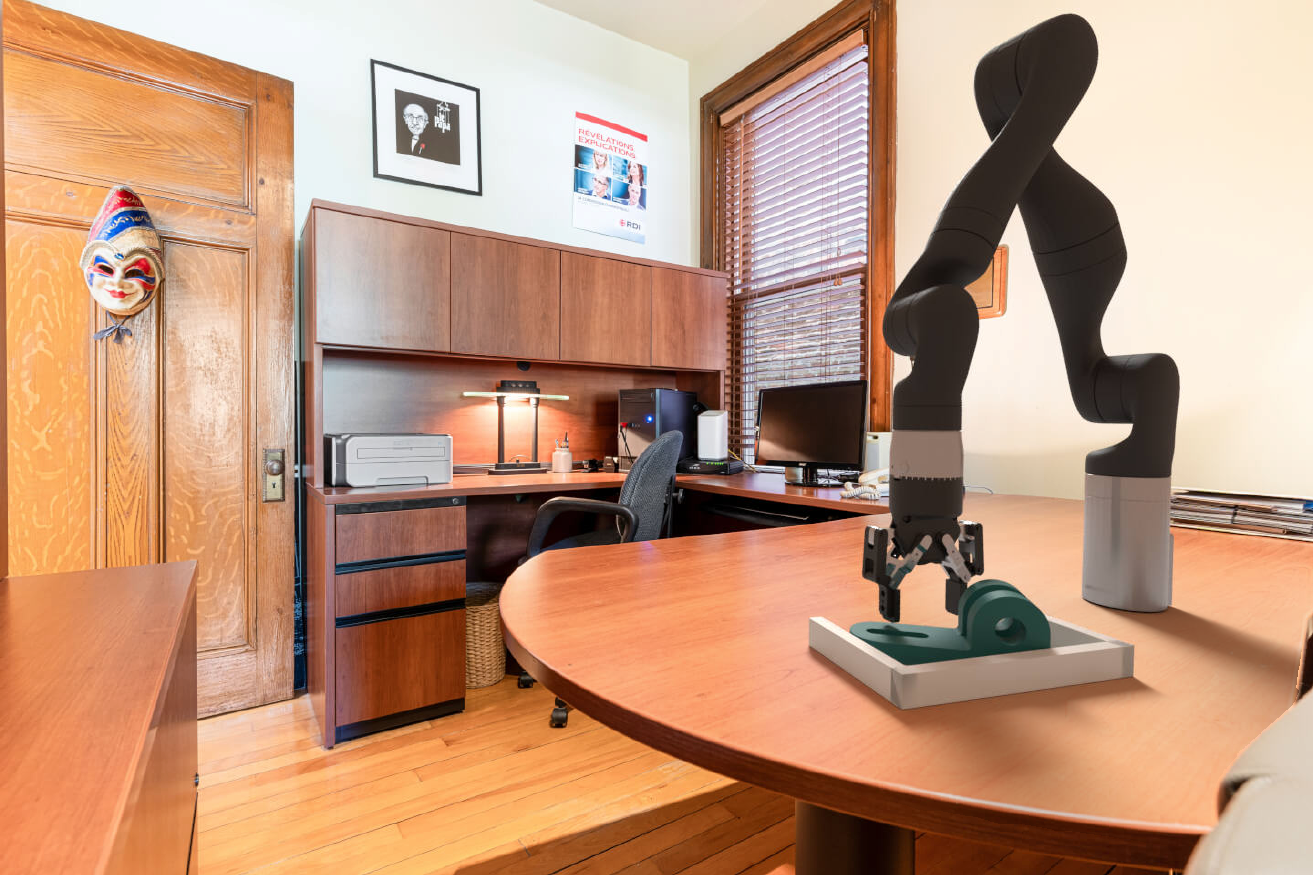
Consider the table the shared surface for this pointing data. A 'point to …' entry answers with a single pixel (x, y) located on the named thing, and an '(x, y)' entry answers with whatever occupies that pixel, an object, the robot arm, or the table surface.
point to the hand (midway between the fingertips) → (923, 616)
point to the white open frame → (978, 666)
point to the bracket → (966, 629)
